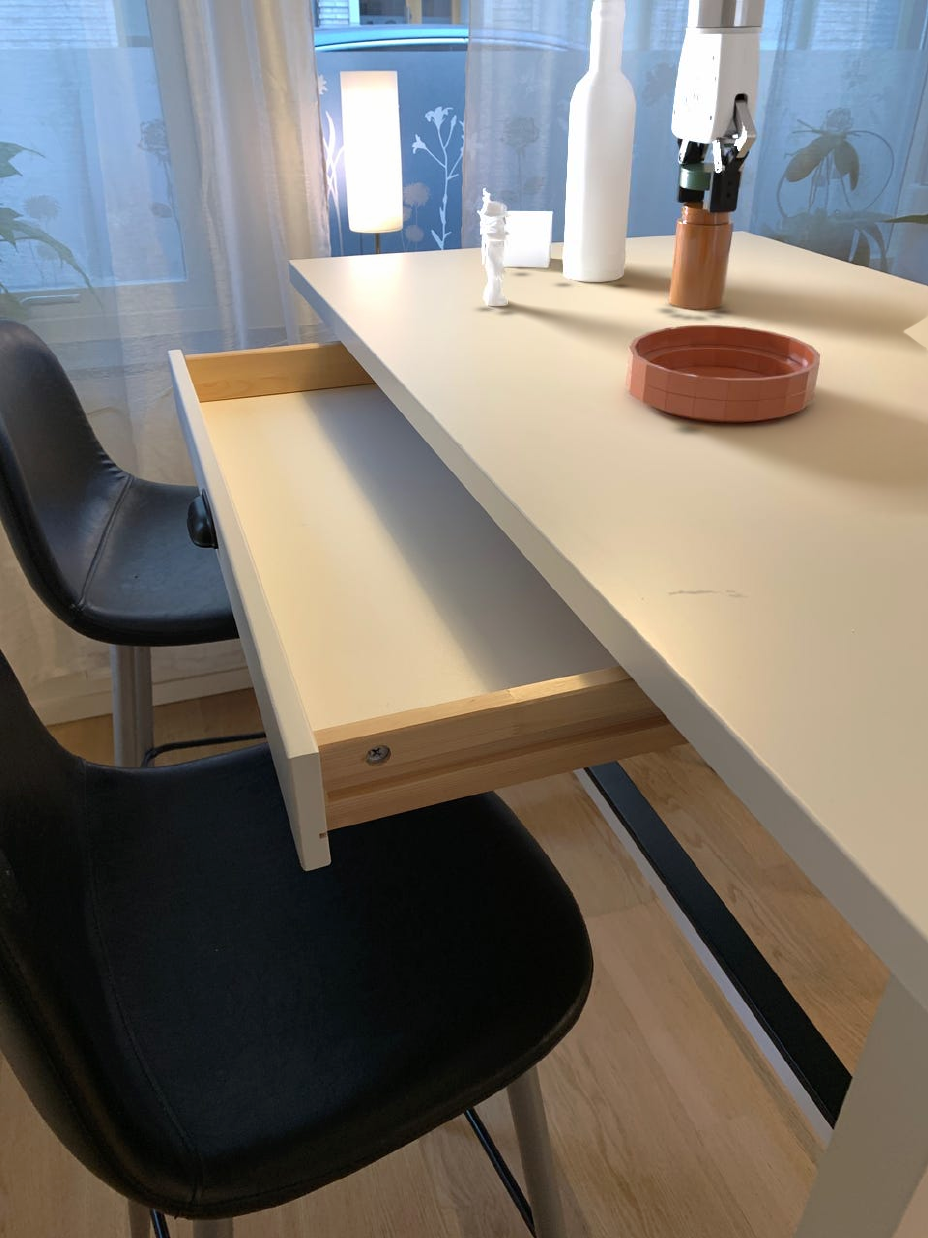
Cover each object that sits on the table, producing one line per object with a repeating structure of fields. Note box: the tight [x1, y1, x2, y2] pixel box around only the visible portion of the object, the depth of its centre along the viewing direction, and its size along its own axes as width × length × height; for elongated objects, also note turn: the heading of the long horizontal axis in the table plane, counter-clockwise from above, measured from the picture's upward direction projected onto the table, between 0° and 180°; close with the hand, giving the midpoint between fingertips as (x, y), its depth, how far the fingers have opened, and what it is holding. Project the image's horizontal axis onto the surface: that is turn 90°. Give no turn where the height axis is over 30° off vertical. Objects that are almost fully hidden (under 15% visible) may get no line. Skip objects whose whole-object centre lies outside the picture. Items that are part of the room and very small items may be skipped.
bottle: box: [562, 0, 637, 283], centre depth 118 cm, size 8×8×30 cm
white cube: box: [503, 210, 553, 269], centre depth 132 cm, size 6×6×6 cm
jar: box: [668, 200, 735, 311], centre depth 112 cm, size 6×6×11 cm
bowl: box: [625, 324, 821, 424], centre depth 86 cm, size 16×16×4 cm
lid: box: [680, 162, 744, 192], centre depth 107 cm, size 7×6×2 cm
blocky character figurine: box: [477, 188, 512, 307], centre depth 112 cm, size 9×4×12 cm, turn 2°
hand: (705, 205), depth 109 cm, fingers closed on lid, 6 cm apart
